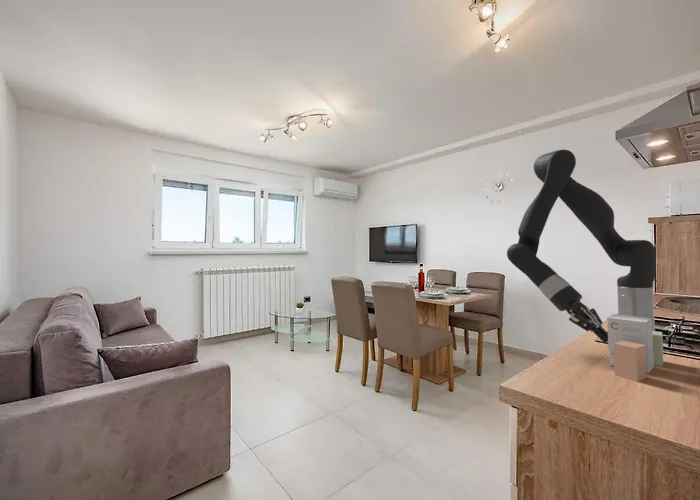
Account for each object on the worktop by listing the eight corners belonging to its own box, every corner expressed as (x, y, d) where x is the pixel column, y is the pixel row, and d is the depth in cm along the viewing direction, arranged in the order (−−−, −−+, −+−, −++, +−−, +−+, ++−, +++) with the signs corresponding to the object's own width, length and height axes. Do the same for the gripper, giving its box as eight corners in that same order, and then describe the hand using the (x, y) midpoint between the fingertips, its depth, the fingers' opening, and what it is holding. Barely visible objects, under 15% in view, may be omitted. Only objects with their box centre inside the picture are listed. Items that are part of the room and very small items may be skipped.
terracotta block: (624, 371, 81) (623, 340, 81) (646, 377, 77) (645, 345, 76) (614, 375, 79) (613, 343, 79) (637, 381, 75) (635, 348, 75)
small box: (654, 367, 82) (652, 317, 82) (649, 374, 79) (647, 322, 78) (614, 359, 89) (613, 313, 89) (608, 365, 85) (606, 317, 85)
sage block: (641, 357, 89) (640, 329, 89) (663, 361, 86) (662, 332, 86) (639, 361, 86) (638, 332, 86) (662, 365, 83) (661, 335, 83)
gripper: (558, 286, 92) (611, 337, 82) (578, 282, 99) (629, 329, 89) (539, 302, 96) (587, 352, 86) (560, 297, 104) (607, 343, 93)
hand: (609, 340), depth 88 cm, fingers closed
